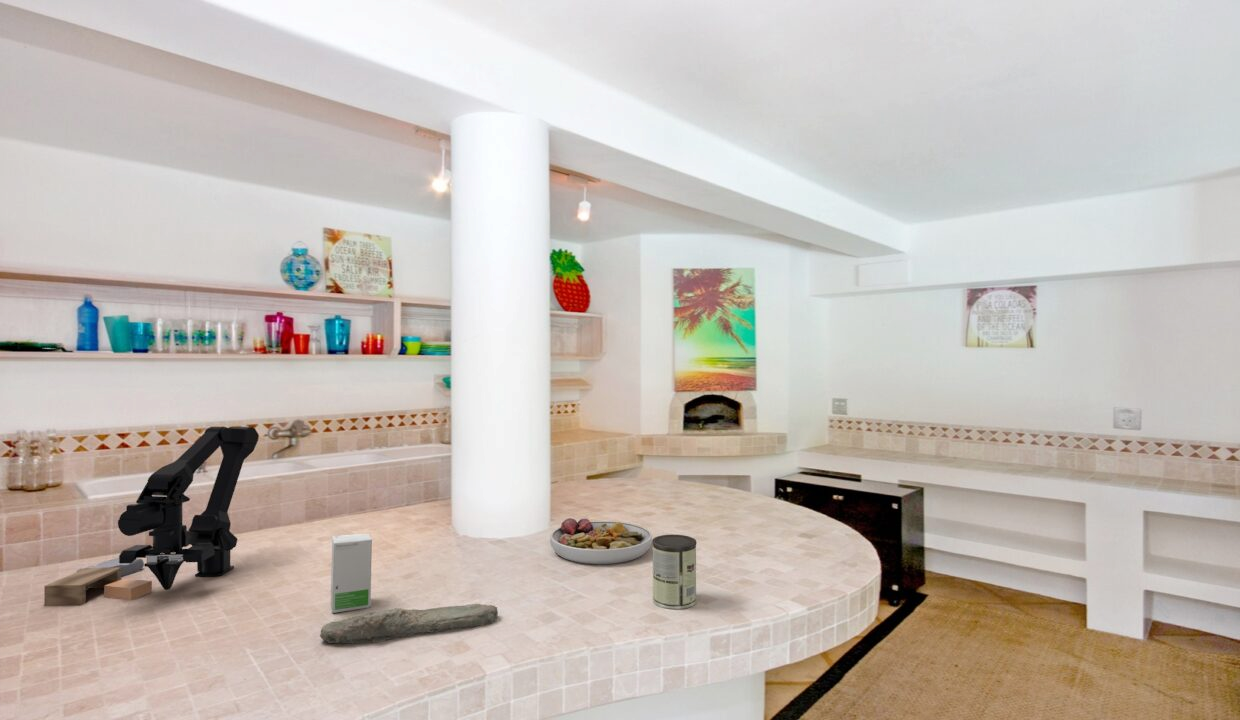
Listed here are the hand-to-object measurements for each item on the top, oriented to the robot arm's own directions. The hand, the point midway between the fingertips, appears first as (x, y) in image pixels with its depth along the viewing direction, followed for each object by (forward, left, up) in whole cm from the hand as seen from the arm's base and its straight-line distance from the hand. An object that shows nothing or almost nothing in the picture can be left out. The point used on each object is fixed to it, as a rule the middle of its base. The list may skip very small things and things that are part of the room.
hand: (167, 589), depth 147 cm
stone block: (+24, -14, -2) cm, 28 cm away
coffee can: (-121, +10, -1) cm, 121 cm away
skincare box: (-47, +9, -1) cm, 47 cm away
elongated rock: (-64, +23, -2) cm, 68 cm away
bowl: (-105, -29, -2) cm, 108 cm away
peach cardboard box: (+9, 0, -1) cm, 9 cm away
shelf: (+19, 0, -1) cm, 19 cm away
